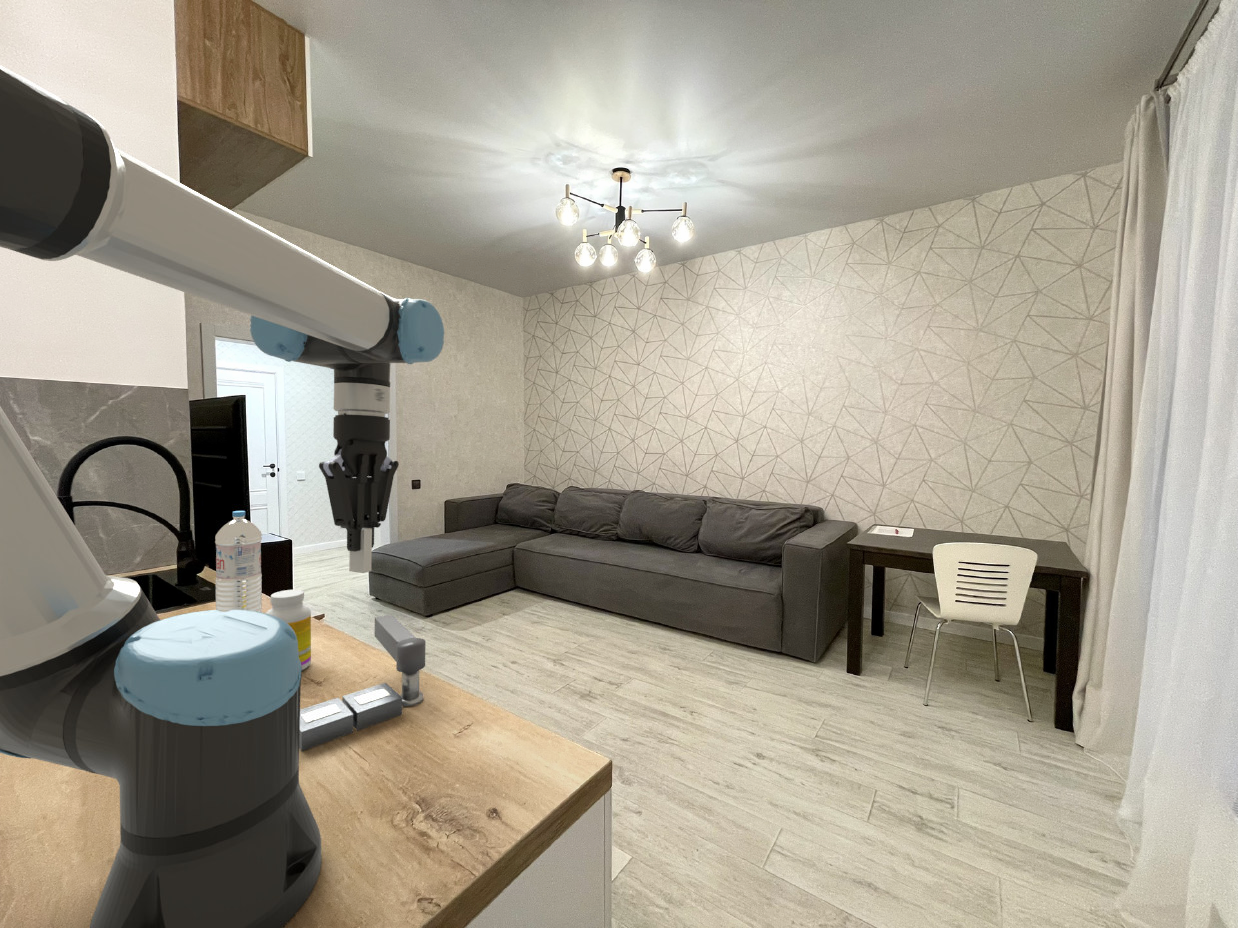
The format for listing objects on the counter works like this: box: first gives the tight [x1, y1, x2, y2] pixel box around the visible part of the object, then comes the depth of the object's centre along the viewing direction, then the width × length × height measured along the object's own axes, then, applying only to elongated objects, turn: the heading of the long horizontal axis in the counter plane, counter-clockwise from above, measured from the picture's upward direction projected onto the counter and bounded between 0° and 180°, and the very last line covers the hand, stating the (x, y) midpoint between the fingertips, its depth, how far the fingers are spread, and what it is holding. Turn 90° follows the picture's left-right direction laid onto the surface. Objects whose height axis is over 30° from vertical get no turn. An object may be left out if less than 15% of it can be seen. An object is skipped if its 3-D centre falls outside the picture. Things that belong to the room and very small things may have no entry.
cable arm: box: [374, 614, 427, 673], centre depth 80 cm, size 17×4×4 cm, turn 40°
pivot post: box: [399, 670, 424, 708], centre depth 75 cm, size 4×4×5 cm
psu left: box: [299, 696, 354, 752], centre depth 67 cm, size 6×6×3 cm
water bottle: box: [214, 510, 263, 613], centre depth 93 cm, size 7×7×25 cm
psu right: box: [341, 682, 403, 732], centre depth 72 cm, size 6×6×3 cm
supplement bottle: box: [266, 589, 312, 672], centre depth 84 cm, size 7×7×13 cm
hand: (360, 570), depth 76 cm, fingers closed
